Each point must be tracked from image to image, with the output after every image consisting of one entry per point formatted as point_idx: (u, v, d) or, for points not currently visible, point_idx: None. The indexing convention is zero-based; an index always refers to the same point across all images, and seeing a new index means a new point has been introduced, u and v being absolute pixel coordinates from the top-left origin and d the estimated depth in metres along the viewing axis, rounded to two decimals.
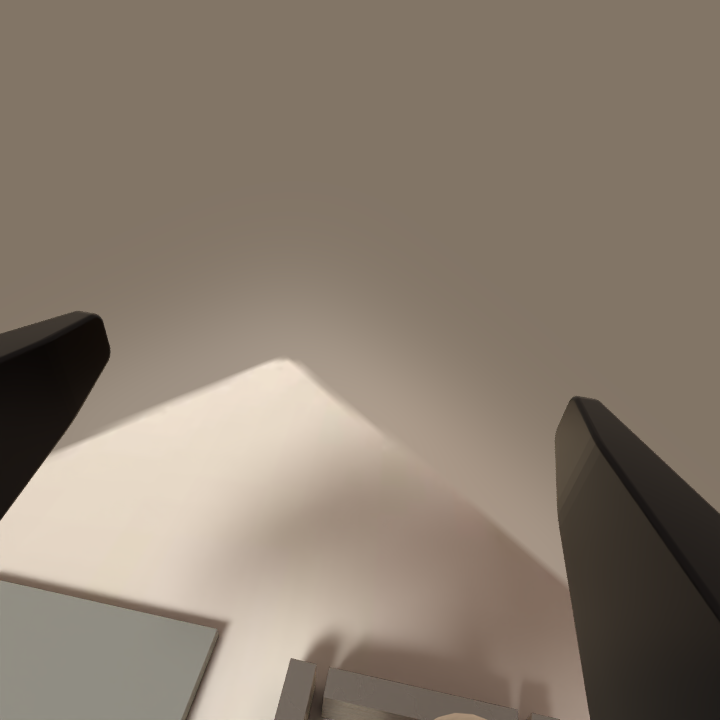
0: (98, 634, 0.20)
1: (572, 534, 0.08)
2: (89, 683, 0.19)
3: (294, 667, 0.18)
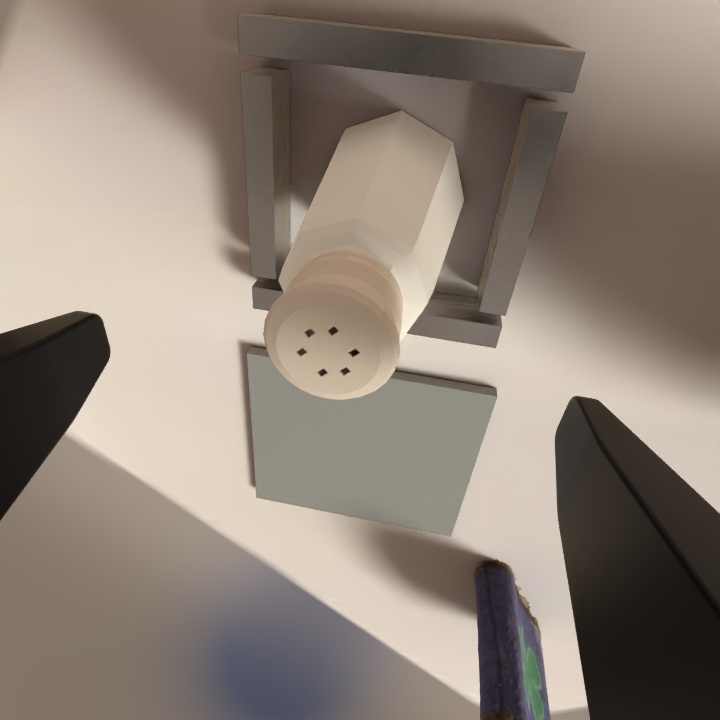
0: (272, 426, 0.26)
1: (572, 534, 0.08)
2: (303, 422, 0.26)
3: (259, 304, 0.20)
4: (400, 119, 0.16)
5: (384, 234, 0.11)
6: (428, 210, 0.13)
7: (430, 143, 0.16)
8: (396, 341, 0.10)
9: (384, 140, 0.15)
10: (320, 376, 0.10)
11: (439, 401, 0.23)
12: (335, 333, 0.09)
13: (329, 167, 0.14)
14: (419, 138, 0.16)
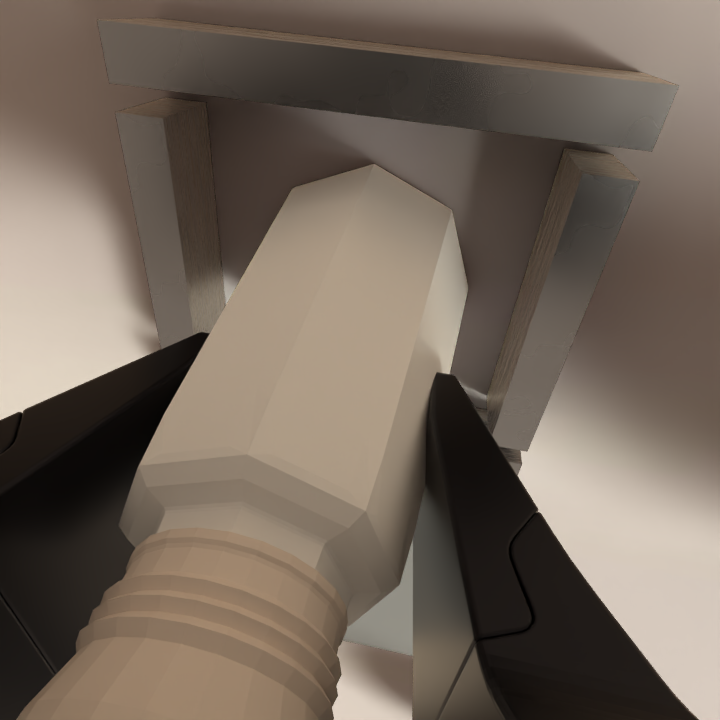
0: None
1: None
2: None
3: None
4: (370, 181, 0.10)
5: (303, 483, 0.05)
6: (405, 378, 0.07)
7: (416, 219, 0.10)
8: None
9: (338, 225, 0.09)
10: None
11: None
12: None
13: (248, 272, 0.09)
14: (398, 213, 0.10)
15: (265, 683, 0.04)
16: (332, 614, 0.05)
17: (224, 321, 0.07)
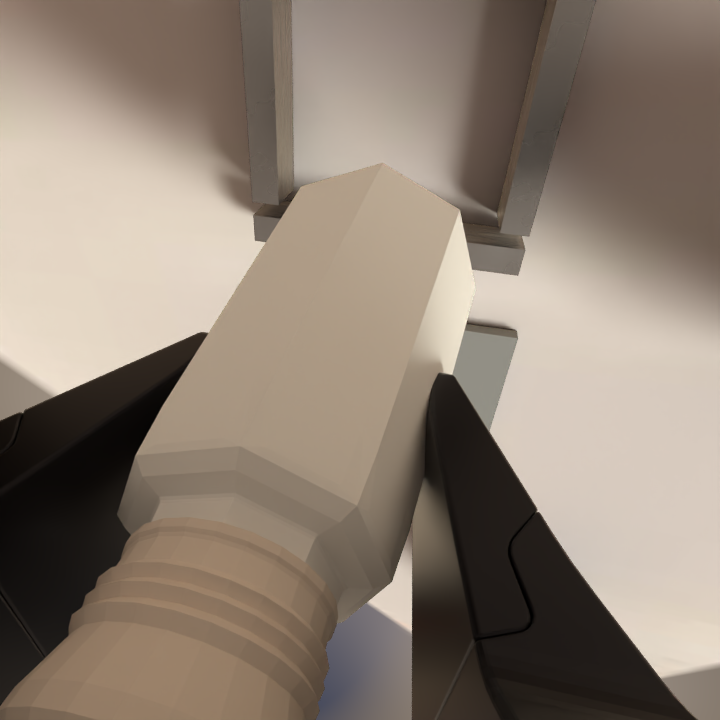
0: None
1: None
2: None
3: (261, 235, 0.19)
4: (377, 179, 0.10)
5: (295, 476, 0.05)
6: (403, 375, 0.07)
7: (423, 218, 0.10)
8: None
9: (343, 223, 0.09)
10: None
11: None
12: None
13: (253, 268, 0.09)
14: (405, 212, 0.10)
15: (249, 672, 0.04)
16: (321, 607, 0.05)
17: (226, 316, 0.08)
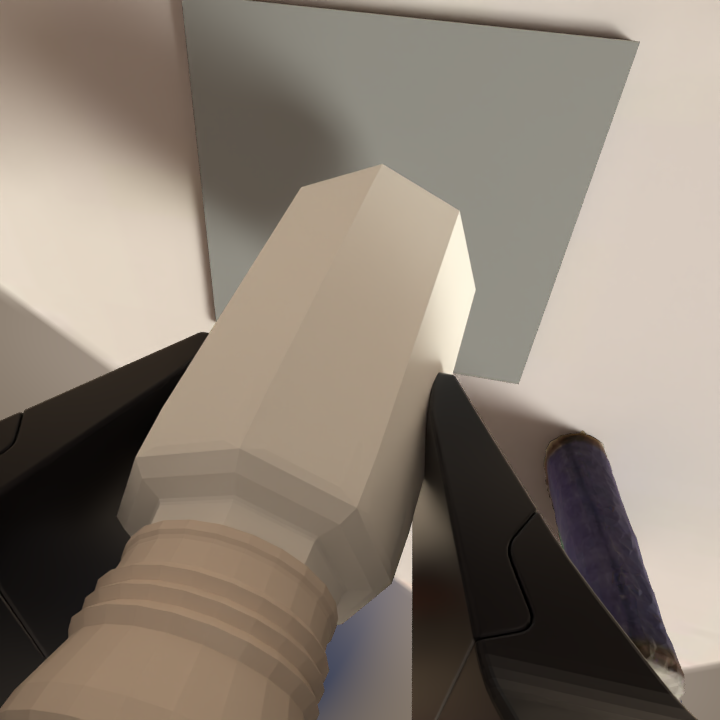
0: (234, 173, 0.16)
1: None
2: (284, 157, 0.15)
3: None
4: (378, 180, 0.10)
5: (295, 479, 0.05)
6: (403, 377, 0.07)
7: (422, 219, 0.10)
8: None
9: (343, 224, 0.09)
10: None
11: (527, 70, 0.13)
12: None
13: (252, 269, 0.09)
14: (404, 213, 0.10)
15: (249, 674, 0.04)
16: (321, 609, 0.05)
17: (226, 317, 0.08)
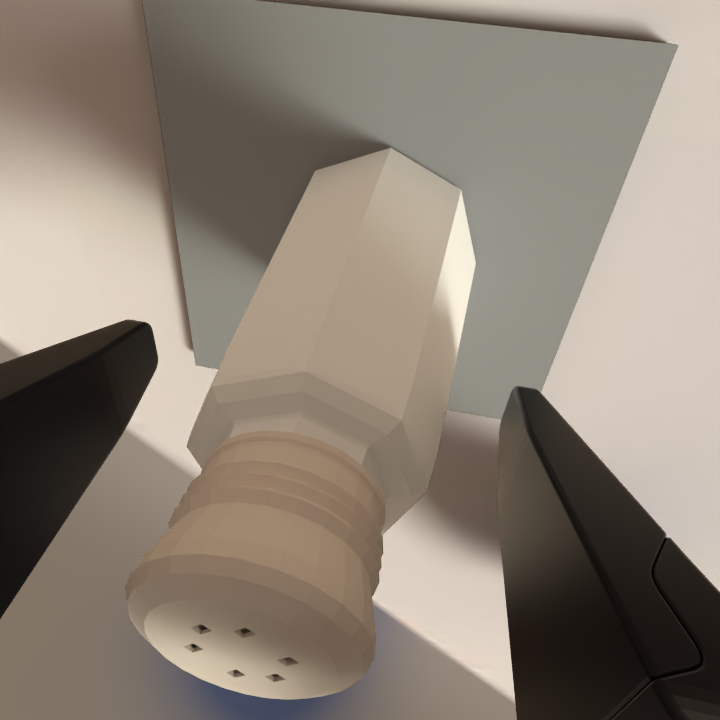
0: (209, 193, 0.14)
1: (507, 521, 0.08)
2: (264, 176, 0.13)
3: None
4: (388, 162, 0.12)
5: (351, 396, 0.06)
6: (428, 324, 0.08)
7: (430, 196, 0.11)
8: (367, 643, 0.05)
9: (363, 199, 0.10)
10: (232, 677, 0.06)
11: (544, 78, 0.11)
12: (248, 636, 0.05)
13: (283, 240, 0.10)
14: (414, 191, 0.11)
15: (331, 536, 0.05)
16: (375, 502, 0.06)
17: (268, 279, 0.09)
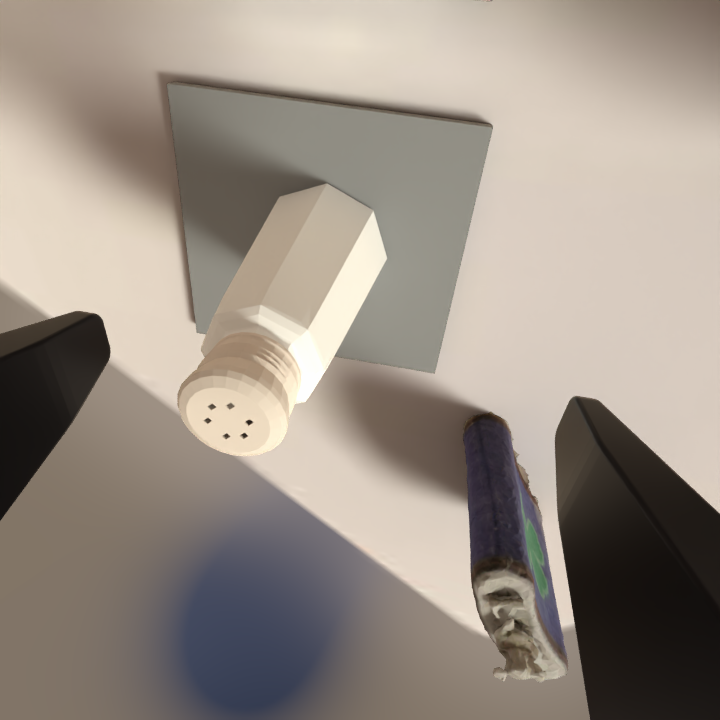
0: (208, 210, 0.21)
1: (572, 534, 0.08)
2: (245, 199, 0.20)
3: None
4: (323, 193, 0.18)
5: (282, 317, 0.13)
6: (331, 288, 0.15)
7: (349, 215, 0.18)
8: (282, 413, 0.12)
9: (303, 218, 0.17)
10: (225, 439, 0.12)
11: (417, 144, 0.18)
12: (232, 408, 0.12)
13: (255, 242, 0.17)
14: (338, 211, 0.18)
15: (268, 371, 0.12)
16: (294, 368, 0.13)
17: (245, 263, 0.15)
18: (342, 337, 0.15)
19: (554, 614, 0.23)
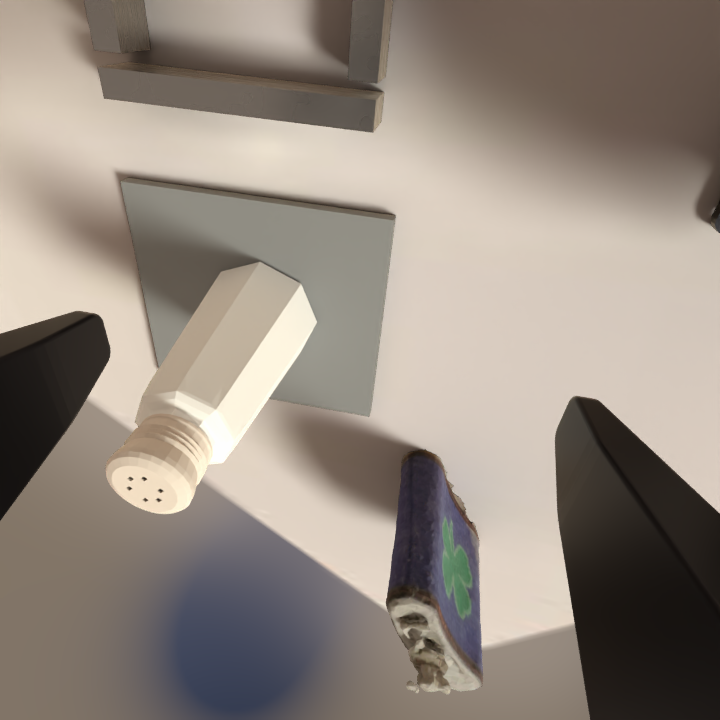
0: (162, 280, 0.24)
1: (572, 534, 0.08)
2: (193, 272, 0.23)
3: (109, 92, 0.18)
4: (254, 273, 0.21)
5: (195, 400, 0.16)
6: (244, 367, 0.18)
7: (275, 292, 0.21)
8: (186, 484, 0.15)
9: (231, 300, 0.20)
10: (144, 502, 0.15)
11: (333, 231, 0.21)
12: (145, 480, 0.15)
13: (190, 322, 0.20)
14: (265, 290, 0.21)
15: (177, 449, 0.15)
16: (203, 441, 0.16)
17: (176, 345, 0.18)
18: (256, 407, 0.18)
19: (474, 632, 0.26)
